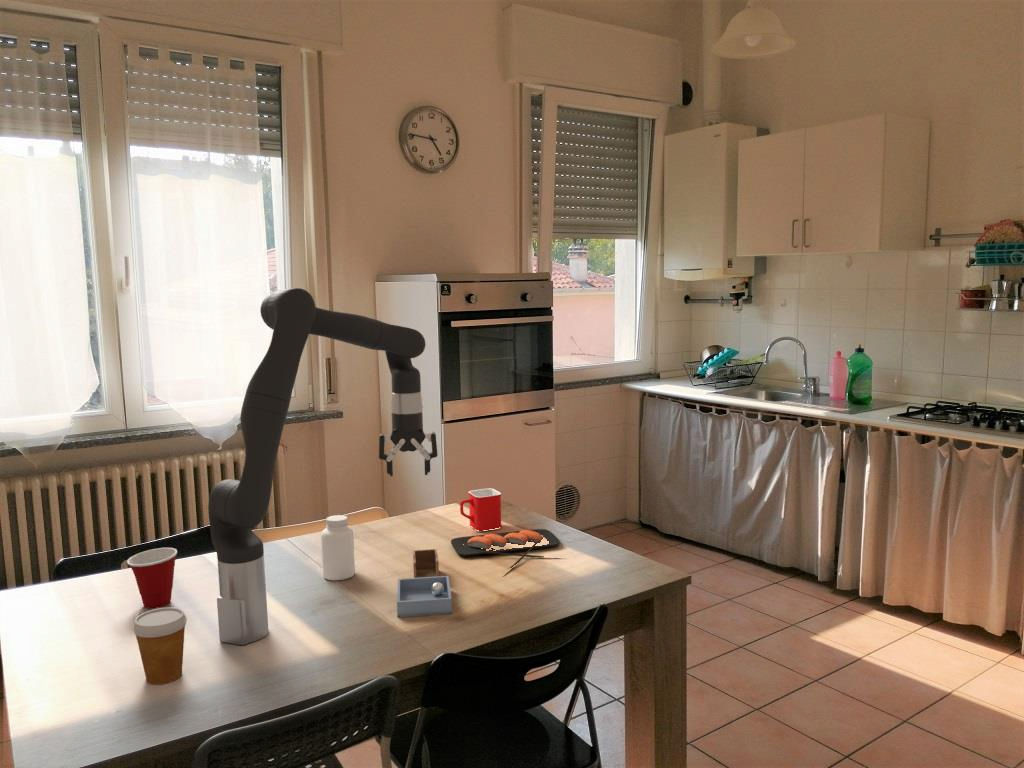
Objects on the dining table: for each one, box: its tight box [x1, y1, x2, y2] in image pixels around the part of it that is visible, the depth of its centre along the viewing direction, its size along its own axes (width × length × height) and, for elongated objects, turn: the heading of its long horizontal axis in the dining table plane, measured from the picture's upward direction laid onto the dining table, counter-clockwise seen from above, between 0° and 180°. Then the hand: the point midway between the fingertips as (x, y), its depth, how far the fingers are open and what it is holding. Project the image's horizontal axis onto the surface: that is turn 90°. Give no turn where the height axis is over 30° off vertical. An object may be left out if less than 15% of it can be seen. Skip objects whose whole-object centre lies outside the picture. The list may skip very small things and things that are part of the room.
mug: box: [459, 487, 502, 531], centre depth 242 cm, size 12×8×11 cm
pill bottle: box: [320, 514, 356, 581], centre depth 206 cm, size 8×8×15 cm
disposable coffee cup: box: [131, 606, 188, 685], centre depth 155 cm, size 10×10×12 cm
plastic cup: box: [126, 547, 178, 610], centre depth 190 cm, size 11×11×12 cm
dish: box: [396, 575, 453, 618], centre depth 188 cm, size 14×12×4 cm
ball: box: [431, 582, 444, 595], centre depth 191 cm, size 3×3×3 cm
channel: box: [412, 548, 440, 578], centre depth 204 cm, size 9×6×6 cm, turn 8°
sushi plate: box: [450, 528, 561, 568], centre depth 219 cm, size 29×30×4 cm
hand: (408, 475), depth 203 cm, fingers open, 8 cm apart
